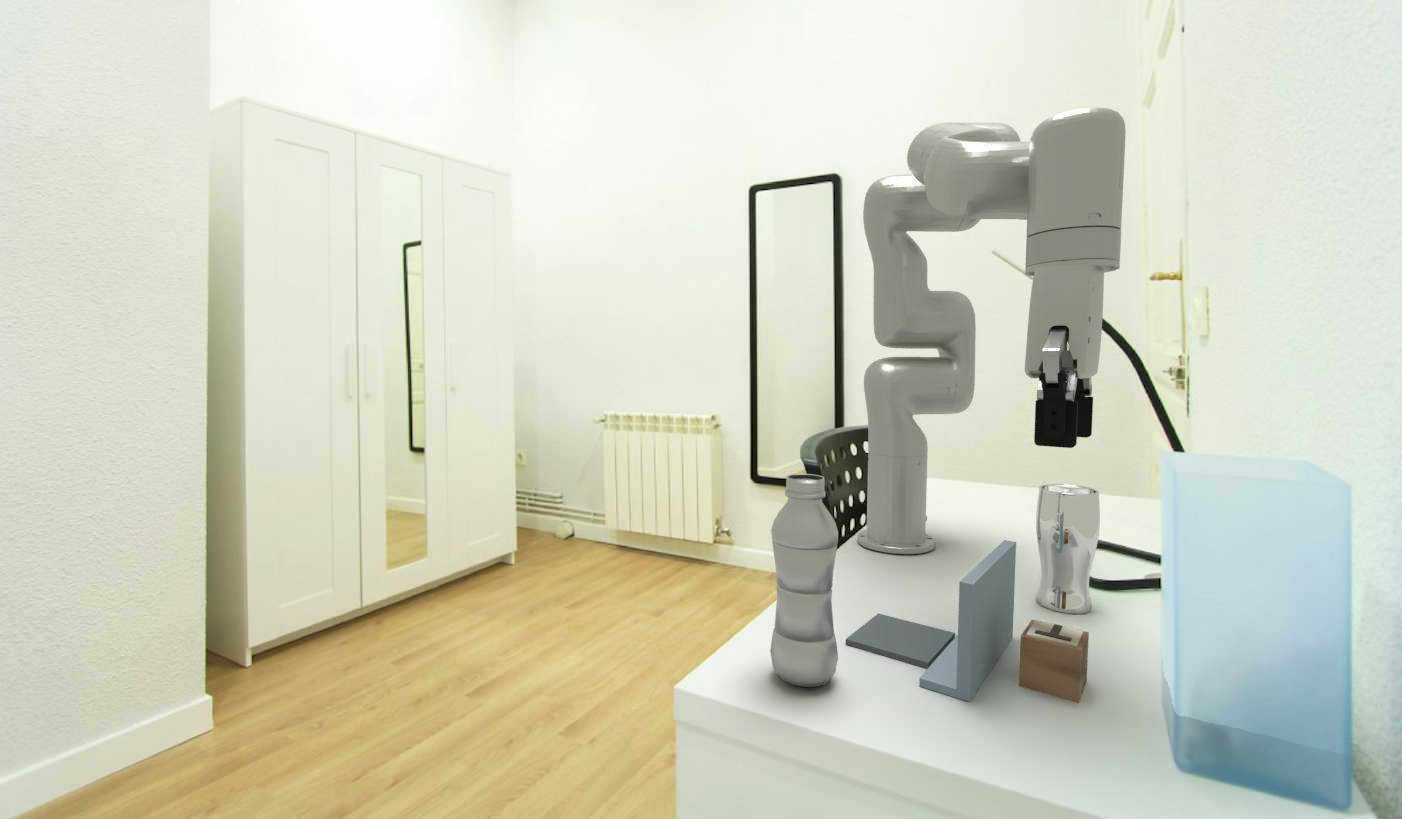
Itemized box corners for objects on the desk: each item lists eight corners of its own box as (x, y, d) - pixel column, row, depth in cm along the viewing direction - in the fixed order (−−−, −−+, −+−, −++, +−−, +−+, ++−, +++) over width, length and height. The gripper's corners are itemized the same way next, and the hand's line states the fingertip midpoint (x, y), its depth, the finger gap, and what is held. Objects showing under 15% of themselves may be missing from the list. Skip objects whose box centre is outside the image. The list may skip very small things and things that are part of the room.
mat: (878, 618, 77) (878, 613, 77) (954, 637, 71) (955, 632, 71) (845, 644, 70) (845, 638, 70) (928, 668, 64) (928, 662, 64)
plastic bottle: (797, 702, 58) (799, 486, 56) (757, 670, 64) (758, 474, 62) (852, 686, 61) (855, 480, 59) (808, 656, 67) (811, 469, 65)
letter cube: (1029, 666, 65) (1031, 616, 65) (1086, 681, 62) (1089, 629, 62) (1018, 686, 61) (1020, 632, 61) (1078, 703, 58) (1081, 647, 58)
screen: (969, 627, 74) (972, 534, 73) (1012, 637, 71) (1016, 541, 71) (919, 685, 61) (922, 573, 60) (969, 701, 58) (973, 584, 57)
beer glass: (1105, 617, 77) (1111, 495, 76) (1042, 613, 78) (1047, 493, 77) (1083, 596, 84) (1088, 484, 83) (1025, 593, 85) (1030, 482, 84)
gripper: (1043, 270, 67) (1038, 431, 69) (1004, 247, 54) (998, 447, 55) (1128, 263, 63) (1121, 435, 64) (1109, 236, 49) (1099, 455, 50)
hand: (1064, 441), depth 60 cm, fingers open, 9 cm apart
